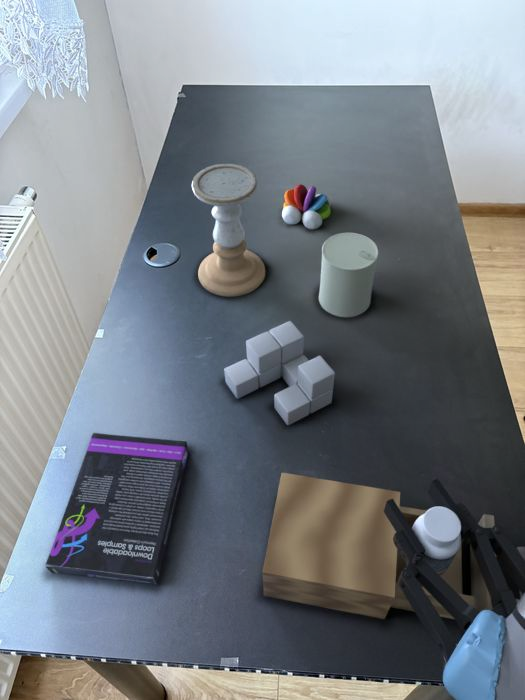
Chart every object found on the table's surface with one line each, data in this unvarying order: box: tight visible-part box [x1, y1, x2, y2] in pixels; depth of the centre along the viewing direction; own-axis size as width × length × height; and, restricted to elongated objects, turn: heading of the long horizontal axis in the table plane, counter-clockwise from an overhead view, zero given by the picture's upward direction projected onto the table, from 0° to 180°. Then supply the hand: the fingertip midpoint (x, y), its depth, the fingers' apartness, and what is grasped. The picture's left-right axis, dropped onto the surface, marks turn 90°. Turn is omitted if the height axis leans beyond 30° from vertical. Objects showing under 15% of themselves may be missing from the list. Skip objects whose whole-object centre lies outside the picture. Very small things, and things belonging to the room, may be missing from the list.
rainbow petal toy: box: [281, 183, 331, 230], centre depth 117 cm, size 8×10×7 cm
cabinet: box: [262, 472, 401, 620], centre depth 73 cm, size 15×13×9 cm
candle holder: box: [191, 163, 266, 298], centre depth 102 cm, size 12×12×20 cm
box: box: [45, 432, 189, 587], centre depth 79 cm, size 14×4×20 cm
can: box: [318, 232, 379, 318], centre depth 100 cm, size 9×9×12 cm
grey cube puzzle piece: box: [223, 320, 336, 426], centre depth 89 cm, size 12×12×8 cm
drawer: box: [390, 505, 525, 620], centre depth 71 cm, size 18×11×7 cm, turn 79°
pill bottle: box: [412, 505, 462, 575], centre depth 66 cm, size 5×5×9 cm
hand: (410, 495), depth 68 cm, fingers closed on pill bottle, 5 cm apart
